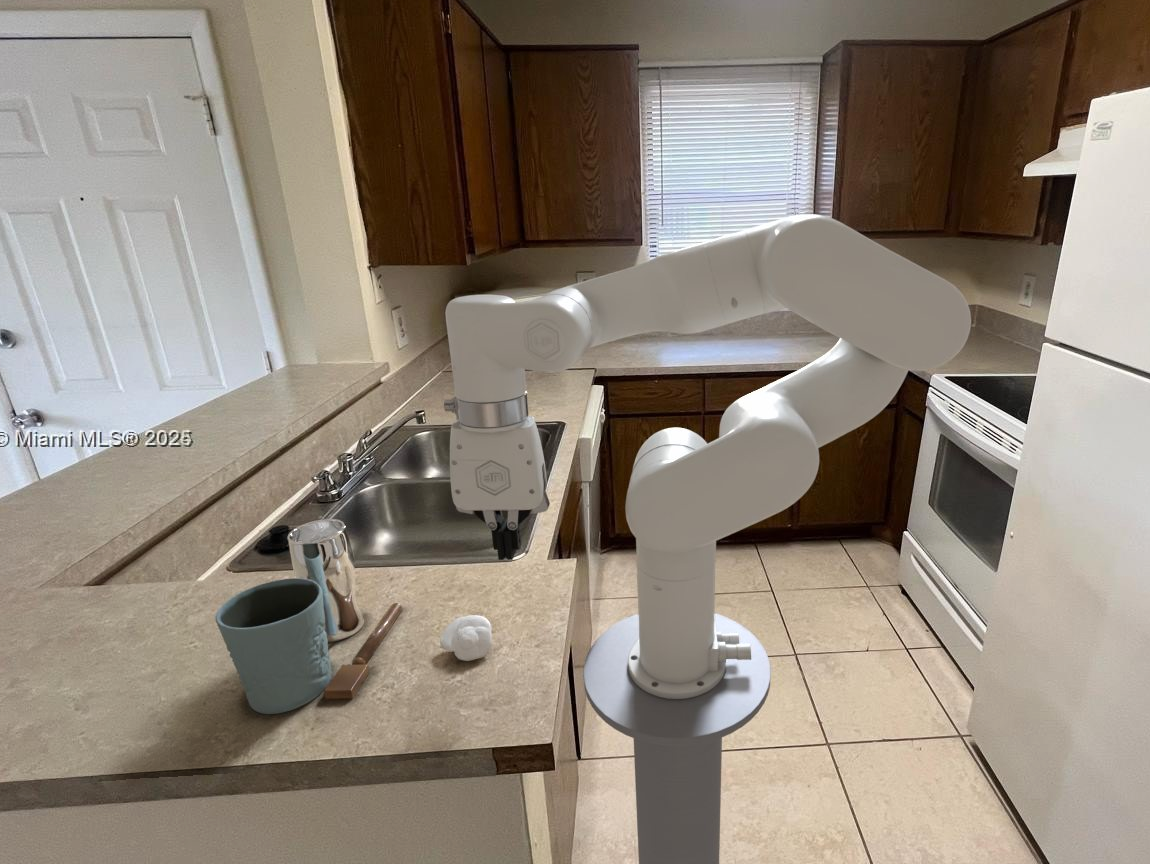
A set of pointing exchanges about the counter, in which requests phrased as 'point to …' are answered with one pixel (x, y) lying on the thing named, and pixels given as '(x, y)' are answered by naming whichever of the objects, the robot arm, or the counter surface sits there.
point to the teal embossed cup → (278, 643)
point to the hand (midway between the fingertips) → (508, 553)
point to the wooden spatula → (360, 660)
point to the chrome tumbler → (329, 572)
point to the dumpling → (468, 637)
